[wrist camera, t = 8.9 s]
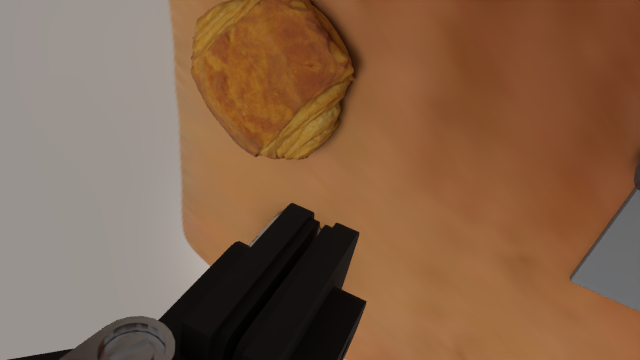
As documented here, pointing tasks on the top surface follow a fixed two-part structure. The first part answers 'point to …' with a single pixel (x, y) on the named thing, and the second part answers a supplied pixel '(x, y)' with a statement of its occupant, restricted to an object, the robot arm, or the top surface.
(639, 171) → the aerosol can
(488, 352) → the top surface
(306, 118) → the croissant
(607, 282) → the mat
